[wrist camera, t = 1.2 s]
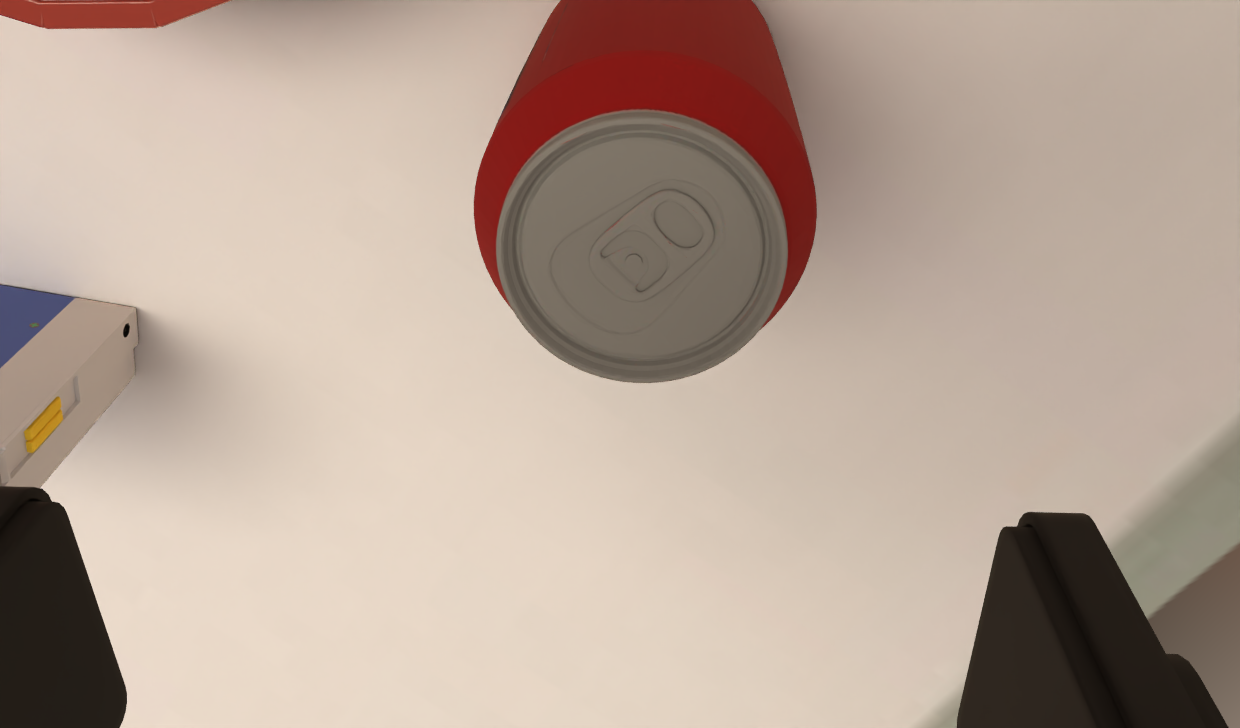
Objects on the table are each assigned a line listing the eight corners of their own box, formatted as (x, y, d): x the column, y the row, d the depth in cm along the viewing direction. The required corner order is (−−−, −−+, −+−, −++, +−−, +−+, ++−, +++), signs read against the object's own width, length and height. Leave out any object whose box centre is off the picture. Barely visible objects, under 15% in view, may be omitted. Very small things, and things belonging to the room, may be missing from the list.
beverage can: (486, 68, 30) (380, 248, 19) (664, -111, 27) (652, -13, 17) (649, 232, 32) (632, 471, 22) (827, 82, 29) (904, 272, 19)
